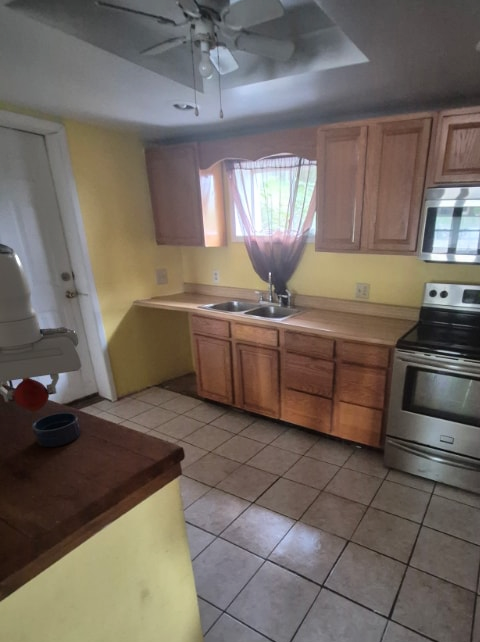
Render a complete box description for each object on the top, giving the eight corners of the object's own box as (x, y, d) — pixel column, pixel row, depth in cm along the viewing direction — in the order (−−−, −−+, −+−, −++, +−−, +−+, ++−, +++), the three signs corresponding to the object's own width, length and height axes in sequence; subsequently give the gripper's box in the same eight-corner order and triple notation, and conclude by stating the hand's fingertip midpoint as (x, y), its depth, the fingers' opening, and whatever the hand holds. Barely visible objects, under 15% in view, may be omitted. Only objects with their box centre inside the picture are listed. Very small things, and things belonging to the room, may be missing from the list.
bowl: (28, 449, 92) (23, 431, 90) (51, 428, 101) (46, 412, 99) (69, 448, 92) (64, 430, 90) (88, 428, 101) (84, 412, 99)
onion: (48, 402, 82) (39, 368, 79) (55, 411, 78) (46, 376, 75) (16, 410, 78) (5, 375, 75) (22, 420, 74) (10, 384, 71)
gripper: (74, 322, 79) (87, 382, 84) (-53, 334, 69) (-29, 401, 74) (75, 329, 74) (89, 392, 79) (-61, 343, 64) (-34, 414, 69)
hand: (31, 396), depth 77 cm, fingers closed on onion, 6 cm apart
